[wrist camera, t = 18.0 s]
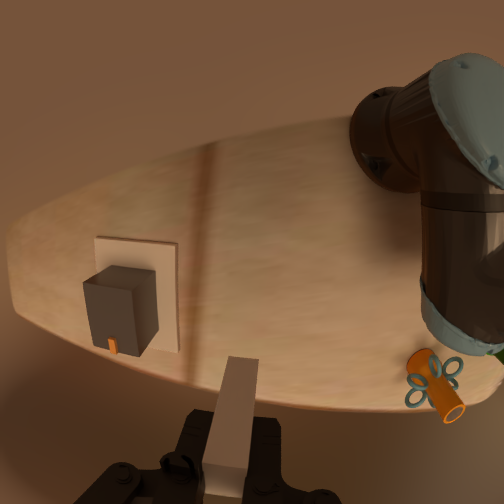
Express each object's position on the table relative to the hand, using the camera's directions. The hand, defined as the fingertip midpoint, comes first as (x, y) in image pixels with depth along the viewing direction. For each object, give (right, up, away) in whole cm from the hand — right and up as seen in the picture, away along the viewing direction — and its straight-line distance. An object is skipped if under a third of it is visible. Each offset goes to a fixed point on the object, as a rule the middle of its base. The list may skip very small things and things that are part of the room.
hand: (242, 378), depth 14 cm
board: (-18, 0, +29) cm, 34 cm away
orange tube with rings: (+31, -14, +29) cm, 45 cm away
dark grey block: (-18, -1, +28) cm, 33 cm away
